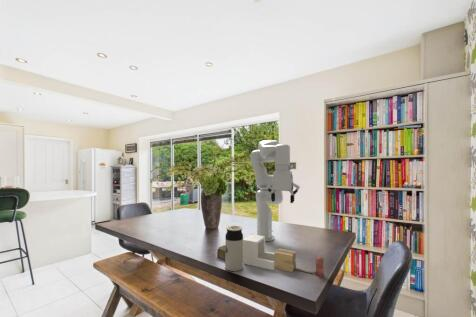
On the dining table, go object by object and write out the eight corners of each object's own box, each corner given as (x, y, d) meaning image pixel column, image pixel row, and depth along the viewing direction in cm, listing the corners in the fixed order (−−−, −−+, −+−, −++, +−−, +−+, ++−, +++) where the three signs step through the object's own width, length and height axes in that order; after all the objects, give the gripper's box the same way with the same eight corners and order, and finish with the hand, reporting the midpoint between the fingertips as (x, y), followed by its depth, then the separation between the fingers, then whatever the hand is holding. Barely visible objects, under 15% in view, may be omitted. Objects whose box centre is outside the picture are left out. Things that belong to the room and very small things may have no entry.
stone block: (224, 253, 119) (224, 244, 119) (240, 259, 112) (240, 249, 112) (216, 257, 115) (216, 247, 115) (232, 263, 107) (232, 252, 107)
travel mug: (242, 264, 106) (242, 225, 107) (243, 271, 98) (243, 229, 99) (225, 264, 106) (225, 225, 107) (225, 271, 98) (225, 229, 99)
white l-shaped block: (252, 255, 116) (252, 234, 117) (280, 261, 109) (280, 238, 109) (242, 263, 107) (243, 239, 107) (273, 270, 100) (273, 244, 100)
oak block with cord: (279, 263, 107) (278, 248, 108) (324, 273, 97) (324, 256, 98) (274, 268, 102) (274, 252, 102) (322, 278, 92) (322, 261, 92)
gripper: (301, 168, 115) (301, 202, 114) (269, 168, 123) (269, 200, 122) (297, 168, 108) (297, 204, 107) (264, 168, 116) (263, 201, 115)
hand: (282, 202), depth 115 cm, fingers open, 9 cm apart
